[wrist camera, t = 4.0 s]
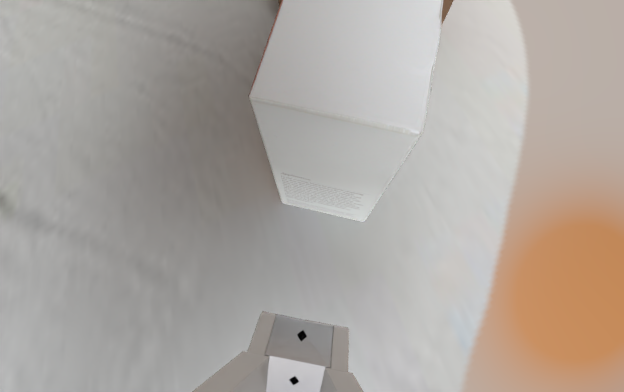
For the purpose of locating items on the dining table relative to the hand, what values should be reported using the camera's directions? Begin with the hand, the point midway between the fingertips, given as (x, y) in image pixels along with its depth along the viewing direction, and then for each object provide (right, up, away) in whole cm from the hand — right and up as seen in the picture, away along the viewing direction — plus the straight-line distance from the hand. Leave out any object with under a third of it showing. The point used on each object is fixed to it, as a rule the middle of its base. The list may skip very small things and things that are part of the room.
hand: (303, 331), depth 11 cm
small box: (+2, +7, +13) cm, 15 cm away
